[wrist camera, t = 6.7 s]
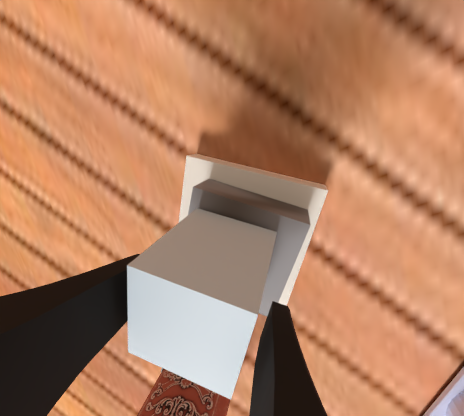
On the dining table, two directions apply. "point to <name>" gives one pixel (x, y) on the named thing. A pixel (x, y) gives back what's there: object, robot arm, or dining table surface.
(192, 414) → the lighter
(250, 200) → the gray slab
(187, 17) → the dining table surface
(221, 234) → the gray block
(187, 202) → the base slab
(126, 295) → the robot arm
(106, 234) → the dining table surface
